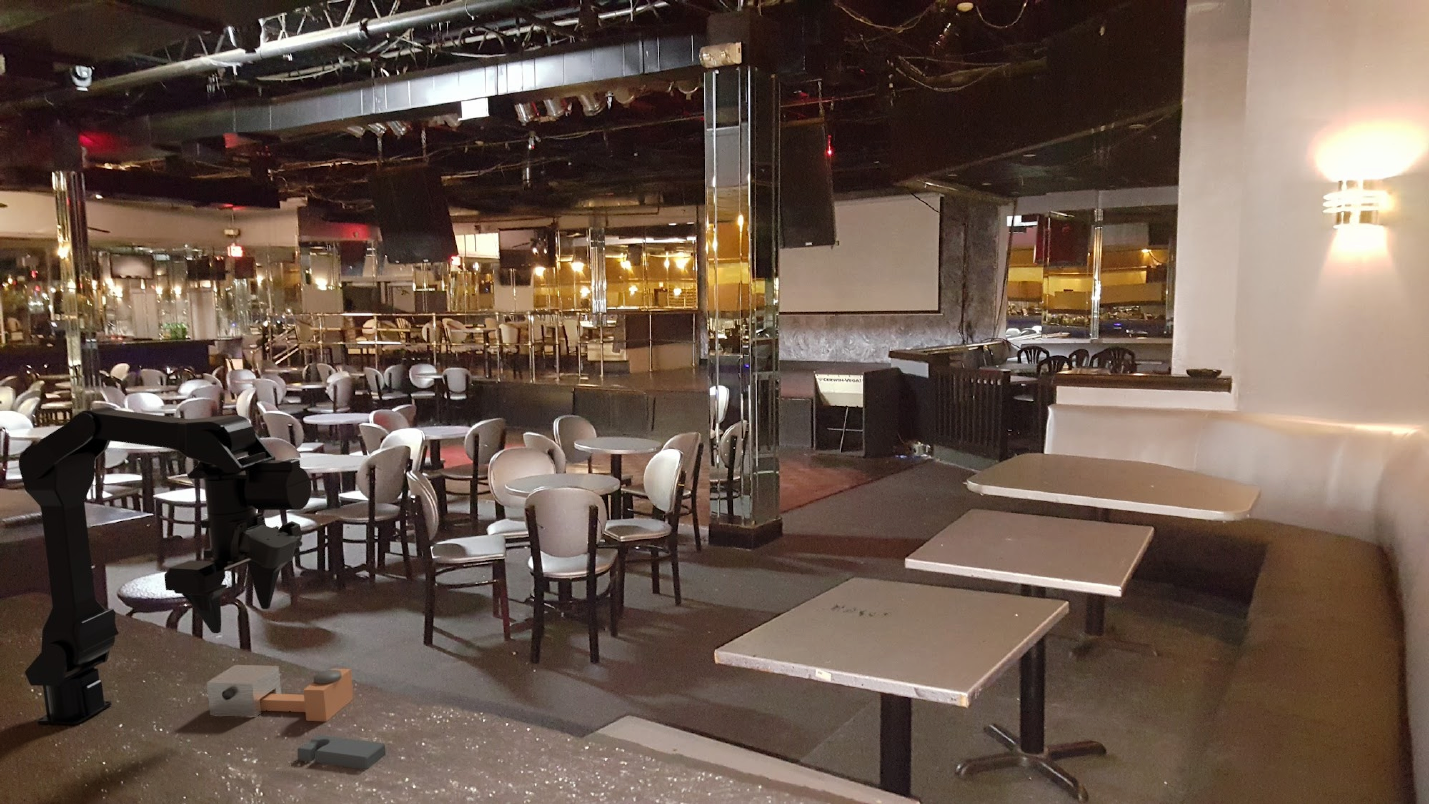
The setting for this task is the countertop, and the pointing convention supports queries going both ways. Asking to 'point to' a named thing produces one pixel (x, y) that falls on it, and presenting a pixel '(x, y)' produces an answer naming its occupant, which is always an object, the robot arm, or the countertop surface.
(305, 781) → the countertop surface
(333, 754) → the bracket
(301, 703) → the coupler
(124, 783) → the countertop surface
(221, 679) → the grey cube with knob
